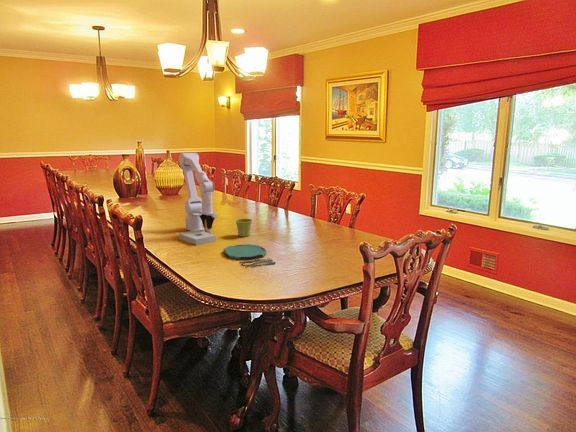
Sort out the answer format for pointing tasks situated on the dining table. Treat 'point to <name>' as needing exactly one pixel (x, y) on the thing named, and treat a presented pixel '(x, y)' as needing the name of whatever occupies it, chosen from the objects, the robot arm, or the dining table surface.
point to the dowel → (206, 227)
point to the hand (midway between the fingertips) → (207, 228)
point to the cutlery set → (247, 253)
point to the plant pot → (244, 227)
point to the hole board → (197, 237)
